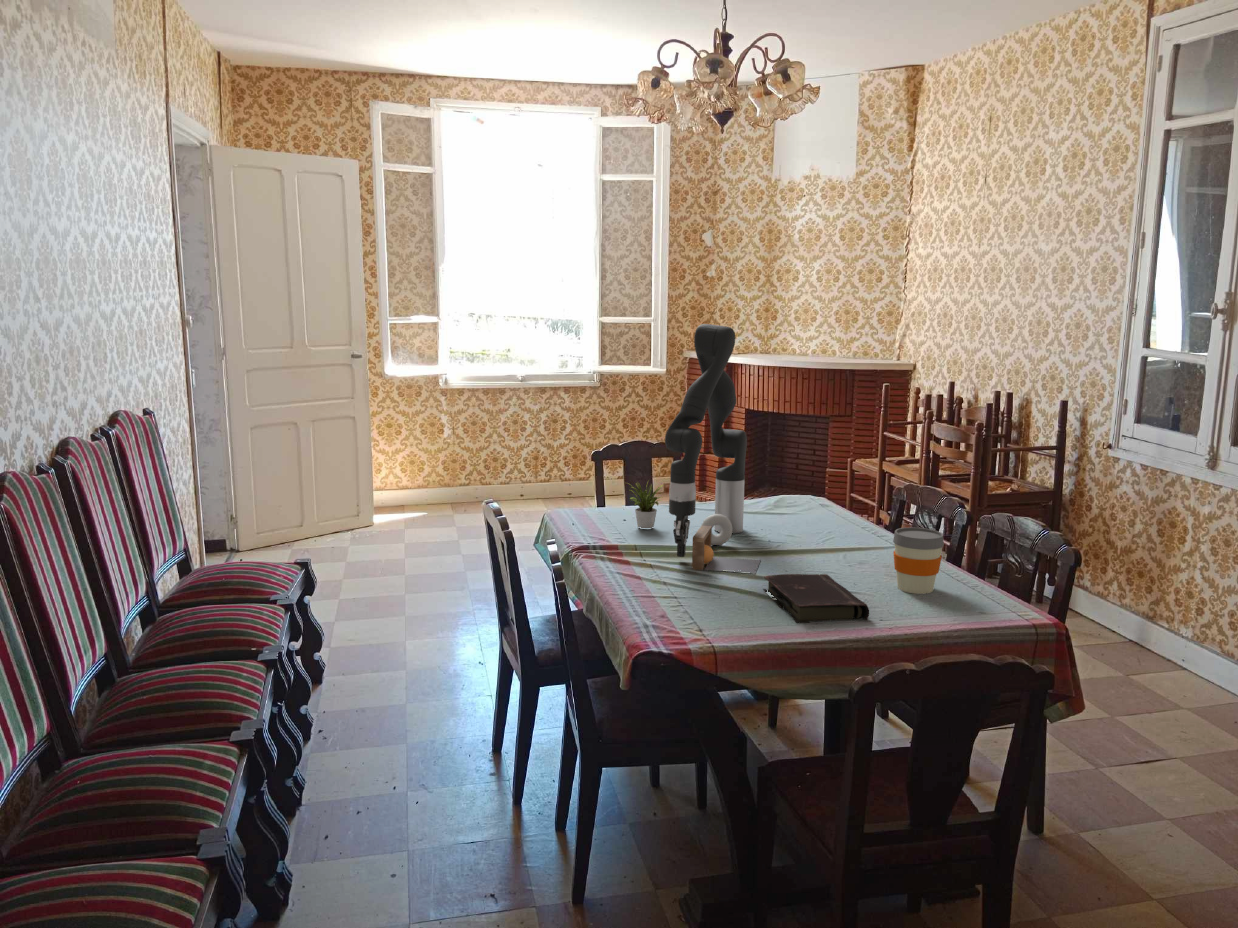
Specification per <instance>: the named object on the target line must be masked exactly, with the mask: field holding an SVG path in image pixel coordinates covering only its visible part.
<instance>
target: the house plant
mask: <svg viewBox="0 0 1238 928" xmlns="http://www.w3.org/2000/svg"><path fill="white" fill-rule="evenodd" d="M650 480H651V479H648V481H647V482H646V486H645V490H642V485H641V483H639V482H638V481H636V484H635V486H636V487H637V488H636V487H634V486H633V485H632V484H630V486H631V488H632V489H633V490H632V489H630V491H631V492H632V493H633V494H634V495H635V496H633V497H630V498H629V499H630V500H632V502H634V506H636V505H637V506H638V507H637V508H635V510H634V511H635V518H636V525H637V528H638V527H641V528H652V527H654V528H655V522H656V518H657V512H658V511H657V508H654V505H655V504H656V505H657V506H659V502H660V501H661V499H663V498H664V497H661V496H660V497H659V496H658V497H657V496H656V494H657V493H658V492H659V490H660V489H662V487H663V486H665V485H666V484H662V485H660V486H659V487H657V488H656V490H654V491H653V492H652V490H653V489H652V487H653V485H652V484H650V485H649V486H648V483H649V481H650ZM626 484H628V485H629V483H628V482H626Z"/></svg>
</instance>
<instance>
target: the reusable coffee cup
mask: <svg viewBox="0 0 1238 928" xmlns="http://www.w3.org/2000/svg"><path fill="white" fill-rule="evenodd" d="M892 542H893V544H894V551H893V563H894V570H895V572H896V583H897V584H896V585H897V589H898V590H900V591H902V592H905V593H910V594H917V595H923V594H924V595H926V593H927V594H930V593H932V592H934V588H935V584H936V577H937V575H938V574H939V571H940V567H941V563H942V558H943V557H942V554H941V553H942V549H943V547H944V545H945V543H944V534H943V533H942V532H941V531H938V530H934V529H930V528H924V527H900V528H897V529H895V530H894V533H893V539H892Z"/></svg>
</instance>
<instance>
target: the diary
mask: <svg viewBox="0 0 1238 928" xmlns="http://www.w3.org/2000/svg"><path fill="white" fill-rule="evenodd" d="M763 578H764V579H765V580H767V581H768V585H767V589H766V588H763V591H765V592H767V590H768V592H770V593H771V595H773V596H774V597H772V598H776V599H777V600H772V601H773V602H774V603H775V604H776V605H777V606H778V607H779V608H781V610H783V611H784V609H785V610H786V611H787V612H788V613H789V615H790V616H791V618H792V620H793V622H795V623H796V624H809V623H810V624H811V622H825V621H827V622H828V621H845V620H847V621H848V620H854V619H855V620H859V619H860V618H862V619H863V620H864V621H868V618H869V616H870V609H869V606H868V604H867V603H865V602H864V601H862V600H861V599H859V598H858V597H856V596H855V595H854V594H853V593H852V592H850V591H849V590H848V589H847V588H845V587H844V586H843V585H841V584H840V583H838V582H836V581H835V579H833V578H832V577H831V576H830V575H829V574H827V573H826V574H825V573H824V574H823V573H822V574H821V573H820V574H819V573H818V574H815V573H814V574H809V573H807V574H804V573H802V574H801V573H792V574H791V573H789V574H788V573H787V574H786V573H784V574H781V573H780V574H773V575H771V574H770V575H765V576H763ZM765 592H764V593H765Z"/></svg>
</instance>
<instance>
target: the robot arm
mask: <svg viewBox="0 0 1238 928" xmlns="http://www.w3.org/2000/svg"><path fill="white" fill-rule="evenodd" d="M693 339H694V340H693V342H694V349H695V350H694V351H695V354H696V357H697V362H698V364H699V368H700V371H701V375H700V376H699V377H698V378H697V379H696V380H694V382H693V383H692V384H691V385H690V386H689V388H687V391H686V392H685V395H684V399H683V401H682V405H681V407H680V411H679V412H678V413H677V415H676V416H675V417H674V419H673V420H672V422H671V424H670V425H669V427H668V429H667V431H666V433H665V436H664V442H665V447H666V448H667V449H668V451H671V452H677V453H684V454H683V457H682V459H678V460H674V461H673V462H671V465H670V478H669V479H670V480H669V481H670V483H669V490H668V491H669V492H668V497H669V498H668V513H669V514H670V515H672V516H675V517H676V518H675V520H673V531H672V532H673V538H674V544H676V545H677V546H676V555H677V557H678V558H684V557H685V556H686V552H687V551H686V549H687V548H686V546H687V545H686V544H687V542H688V539H689V530H690V525H691V520H690V519H689V517H690V516H694V515H695V514H696V496H697V488H696V468H697V463H698V459H699V456H700V453H701V450H702V447H703V437H702V434H701V431H699V430H698V429H697V428H693V427H692V428H690V427H691V426H693V425H698V424H701V423H702V422H703V420H704V419H705V416H706V413H708V416H709V417H708V418H709V424H710V437H711V440H710V441H711V448H712V453H713V455H714V457H717V458H722V459H724V458H725V459H734V460H733V461H734V462H733V463H732V464H729V465H727V466H724V467H720V468H718V469H716V472H715V496H714V497H715V501H714V502H715V504H714V506H715V507H714V514H721V515H724V516H726V517H727V518H728V519H729V520H730V522H731V524H732V529H733V530H732V533H733V534H739V533H742V532H743V531H744V510H745V509H744V507H745V506H744V505H745V475H746V474H745V472H746V455H747V447H748V444H747V443H748V435H747V433H746V431H745V430H742V429H732V428H731V429H730V428H729V429H728V428H724V427H723V425H724V424H725V421H726V420H727V419H728V417H729V416H730V415H731V413H732V412H733V411H734V410H735V407H736V404H737V394H736V388H735V383H734V382H733V379H732V378H731V377H730V375H729V374H728V373H727V372H726V370H725V368H726V367H727V364H728V362H729V361H730V358H731V357H732V354H733V352H734V348H735V343H736V334H735V331H734V329H733V328H732V327H729V326H724V325H717V324H709V323H702V324H699V325H698V326H697V328H696V330H695V332H694V338H693ZM715 530H716V531H715ZM721 530H722V529H721V526H720V525H715V526H714V531H715V532H717V531H718V532H717V533H720V532H721Z"/></svg>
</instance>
